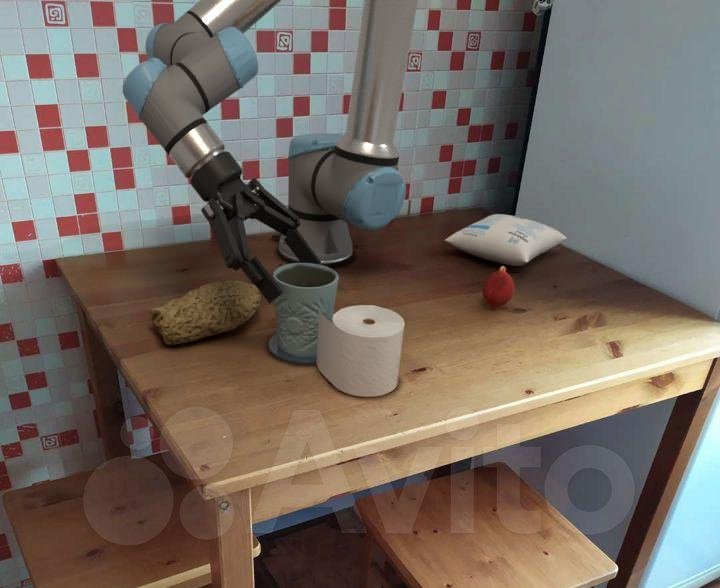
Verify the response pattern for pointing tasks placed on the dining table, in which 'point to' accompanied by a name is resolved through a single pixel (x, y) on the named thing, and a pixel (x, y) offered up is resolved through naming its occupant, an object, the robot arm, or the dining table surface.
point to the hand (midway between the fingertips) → (296, 282)
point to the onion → (498, 288)
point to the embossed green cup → (303, 305)
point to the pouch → (506, 239)
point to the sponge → (206, 311)
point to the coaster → (286, 357)
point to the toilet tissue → (361, 349)
